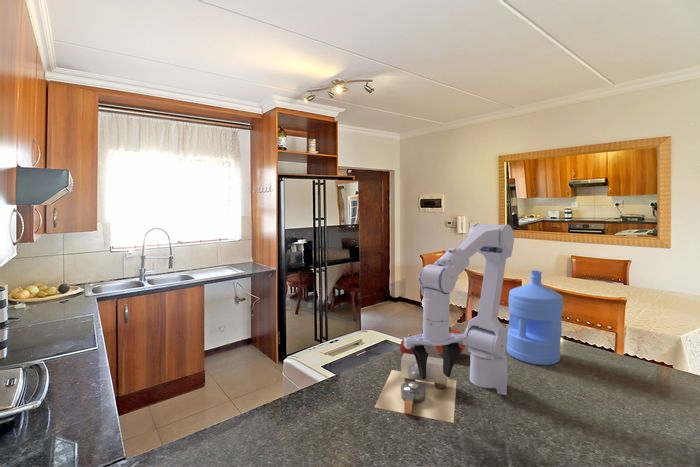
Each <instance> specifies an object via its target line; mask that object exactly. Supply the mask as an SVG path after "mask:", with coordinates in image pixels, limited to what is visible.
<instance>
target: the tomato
mask: <svg viewBox="0 0 700 467" xmlns="http://www.w3.org/2000/svg"><path fill="white" fill-rule="evenodd" d="M449 333H454V334H463V332H461V330H459V329H458V328H456V327H452V326H451V325H449ZM434 347H435V349H436V351H437V352H438V353H439V354H441V355H443V349H442V345H437V346H434ZM459 347H461V353H463V351H464V350H465V348H466V345H462V344H459ZM461 353H460V354H461Z"/></svg>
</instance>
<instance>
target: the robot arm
mask: <svg viewBox="0 0 700 467" xmlns="http://www.w3.org/2000/svg"><path fill="white" fill-rule="evenodd" d="M514 242H515V234H514V230H513V228H512V227H511V225H510V224H489V223H477V222H476V223H474V224H473V225H472V226H471V227H469V230H468V236H467V237H466V238H465V240H463V242H462V243H461V244H460V245H459V246H458V247H454V246H453V247H449V248H448V249H447V251H446V252H445V253H444V254H443V255H442V256H440V258H438V259H437V260H436V261H435V262H434V263H433V264H432V263H431V264H426V265H425V266H423V267H422V268H421V270H420V272H419V276H418V277H417V280H418V281H417V282H418V286H420V290H421V291H420V294H421V296H422V297H423V307H422V308H423V309H422V311H423V312H422V315H423V316H422V333H420V334H419V333H418V334H415V335H411V337H407V336H405V337H403V339H404V347H405V348H406V349H412V351H413V353H414V356H415V358H416V361H417V365H418V369H419V375H420V377H421V378H422V379H426V364H427V358H428V357H429V353H428V352H427V350H426V348H425V347H435V346H437V345H442V349H443V354H442V359H443V373H444V374H445V375H446V376H447V377H448V378H450V376H451V374H452V371H453V367H454V364H456V360H457V358H458V357H459V356H460V354H461V347H459V344H462V345H465V348H466V347H467V349H468V350H467V352H468V353H470V354H469V355H470V362H469V363H470V366H469V381H470V382H471V383H472V384H473V385H475V386H476V387H479V388H484V389H496V394H497V395H501V396H507V395H508V393H507V392H508V391H507V390H508V389H507V388H508V381H509V380H508V358H507V356H506V355H505V353H506V352H507V336H508V329H507V328H506V327H505V325H503V324H502V322H501V321H500V320H499V319H498V318H499V312H500V303H501V297H502V290H503V284H504V283H503V282H504V276H505V269H506V265H507V264H506V263H507V259H508V258H511V257H512V253H513V250H514V249H513V248H514ZM477 252H478V253H479V254H480V255H481V256H482V255H483V257H484V259H485V264H484V272H483V277H482V278H483V280H482V285H481V292H480V298H479V305H478V311H477V316H475V317H473V318H471V319H469V320H468V323H467V326H466V329H465V331H464V333H462V334H454V333H449V326H450V308H451V307H450V303H451V302H450V300H451V292H453V291H454V289H455V287H456V283H457V281H458V279H459V276H460V274H462V273H463V271H465V270H466V268H468V266H469V265H470V258H472V256H474V255H475V254H476V253H477Z"/></svg>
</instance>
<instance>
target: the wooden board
mask: <svg viewBox="0 0 700 467" xmlns="http://www.w3.org/2000/svg"><path fill="white" fill-rule="evenodd" d="M409 381H413V382H418V383H421V384H423V385H424V386H425V388H426V393H425V400H424V401H423V402H421V403H415V404H414V407H413V412H412V416H416V417H422V418H426V419H432V420H437V421H441V422H446V423H452V424H454V422H455V409H456V406H455V405H456V396H457V395H456V393H457V379H451V378H448V383H447V385H445V384H439V383H433V382H427V381H421V380H415V379H409V378H403V377H401V370H396V369H395V370H393V369H391V371H390V374H389V375H388V377H387V380H386V382H385V383H384V386H383V388H382V390H381V392H380V394H379V396H378V399H377V400H376V403H375V405H374V408H376V409H379V410H386V411H389V412H395V413H401V414H406V413H404V405H405V401H404V400H403V399H402V398H401V385H402V384H403V383H405V382H409ZM406 415H407V414H406ZM409 415H411V414H409Z"/></svg>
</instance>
